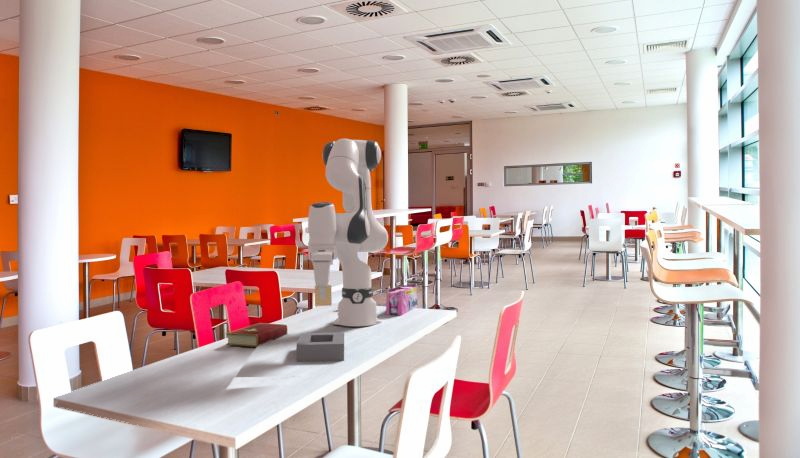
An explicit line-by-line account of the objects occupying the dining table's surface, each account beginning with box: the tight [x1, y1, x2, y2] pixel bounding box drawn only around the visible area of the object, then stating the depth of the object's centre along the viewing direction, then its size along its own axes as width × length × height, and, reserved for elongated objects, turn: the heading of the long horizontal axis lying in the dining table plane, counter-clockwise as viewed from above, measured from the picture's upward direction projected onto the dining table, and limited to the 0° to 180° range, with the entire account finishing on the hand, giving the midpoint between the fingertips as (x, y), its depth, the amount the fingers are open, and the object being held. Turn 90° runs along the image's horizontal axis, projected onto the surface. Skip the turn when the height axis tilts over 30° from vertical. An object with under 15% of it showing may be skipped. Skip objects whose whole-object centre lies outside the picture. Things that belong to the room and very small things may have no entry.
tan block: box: [314, 284, 333, 307], centre depth 182 cm, size 4×5×6 cm
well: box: [295, 331, 345, 363], centre depth 183 cm, size 18×14×5 cm
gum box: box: [385, 284, 419, 316], centre depth 252 cm, size 22×7×13 cm, turn 160°
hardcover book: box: [225, 322, 288, 348], centre depth 208 cm, size 12×21×4 cm, turn 162°
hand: (323, 298), depth 182 cm, fingers closed on tan block, 4 cm apart
